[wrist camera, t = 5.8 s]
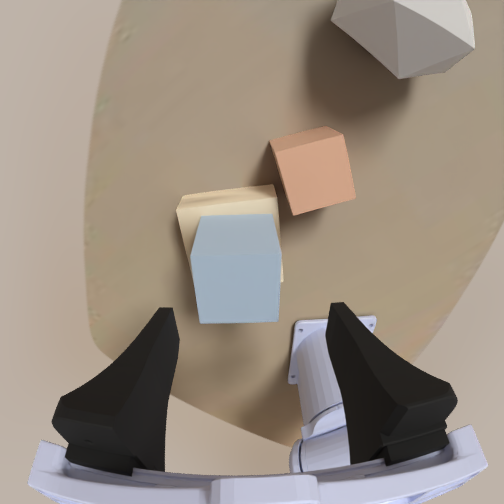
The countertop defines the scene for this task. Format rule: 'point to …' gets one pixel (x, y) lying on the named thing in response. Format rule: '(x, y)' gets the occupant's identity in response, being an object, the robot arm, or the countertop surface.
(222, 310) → the blue block
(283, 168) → the terracotta block
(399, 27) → the die
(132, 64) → the countertop surface
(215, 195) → the beech base
